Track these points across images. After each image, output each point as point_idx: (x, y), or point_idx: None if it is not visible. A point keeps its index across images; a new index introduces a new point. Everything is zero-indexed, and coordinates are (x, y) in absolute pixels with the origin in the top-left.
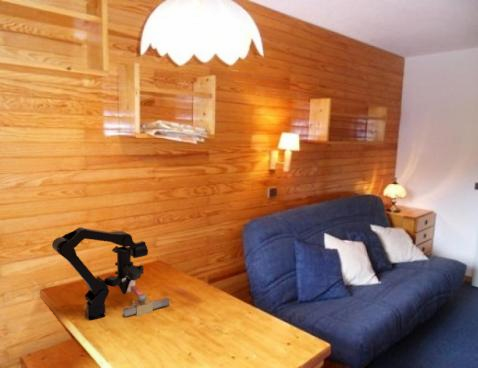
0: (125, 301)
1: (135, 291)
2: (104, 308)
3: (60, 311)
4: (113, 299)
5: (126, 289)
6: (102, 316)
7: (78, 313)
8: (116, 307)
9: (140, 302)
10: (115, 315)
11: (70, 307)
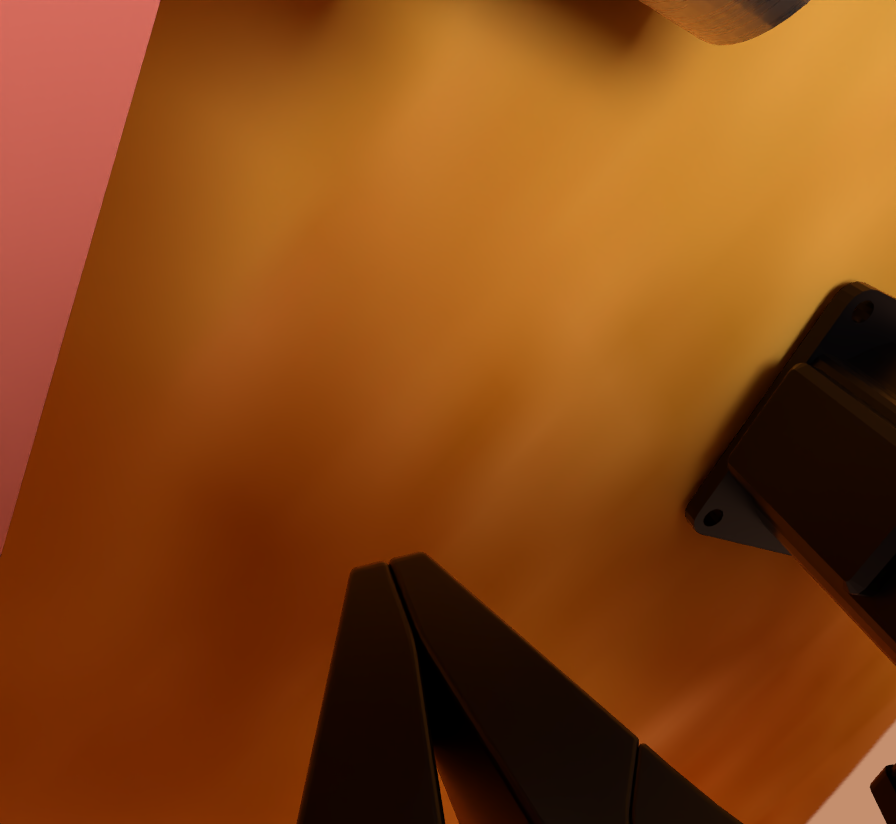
0: (117, 543)
1: (64, 300)
2: (883, 418)
3: (846, 768)
4: (241, 730)
5: (408, 696)
6: (894, 300)
7: (839, 633)
8: (443, 443)
9: None
10: (731, 158)
11: (737, 795)
